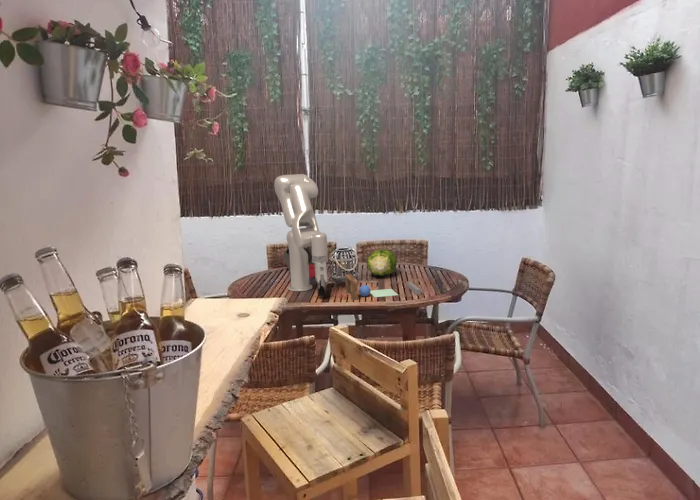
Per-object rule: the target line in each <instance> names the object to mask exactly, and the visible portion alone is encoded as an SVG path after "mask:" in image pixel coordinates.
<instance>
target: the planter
mask: <svg viewBox="0 0 700 500" xmlns="http://www.w3.org/2000/svg"><path fill="white" fill-rule="evenodd" d="M303 249H304V250H305V251H306V252H307V254H308V265H311V264H314V263H313V262H312V246H311V247H303ZM282 258H283V260H284V262H285V264H286V267H287V269H288V270H289V272H290V255H289V247H288V246H287V247H286V248H285V250H284V252H283V254H282Z"/></svg>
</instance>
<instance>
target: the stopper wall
mask: <svg viewBox="0 0 700 500" xmlns="http://www.w3.org/2000/svg"><path fill="white" fill-rule="evenodd" d="M406 287H407V288H408V289H410V291H411V292H413V293H415V294H416V296H418V295H419V296H420V295H422V290H421V288H419V286H417V285H416V284H414V283H413V282H412V281H406Z"/></svg>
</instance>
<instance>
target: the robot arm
mask: <svg viewBox="0 0 700 500" xmlns="http://www.w3.org/2000/svg"><path fill="white" fill-rule="evenodd" d="M273 188H274V191H275V195H276V196H277V198H278V200H279V202H280V205H281V210H282V213H283V217H284V222H285V224H286V226H287V227H289V228H291V229H290V230H289V231H288V232H287V234H286V241H287V242H286V243H287V247H289V255H290V271H289V272H290V285H288V290H289V291H291V292H305V291H310V290H312V289H313V284H310V278H309V267H308V254H307V252H306V251H305V250H304V249H303V247H305V248H307V247H311V246H312V262H313V263H312V264H314V266H315V277H314V278H315V281H316V283H317V295H318V296H317V297H325V296H326V291H325V289H326V288H325V283H328V269H327V263H328V261H329V260H328V259H329V256H328V236H327V234H326V233H325V232H321V231H320V229H319V226H318V222H317V218H316V215H315V211H313V206H312V204H311V203H312V202H311V201H310V199H314V198H315V199H316V197H318V195H319V188H318V185H317V184H316V182H315V181H314V180H313V179H312V178H310V177H309V176H308V175H306V174H304V173H299V174H297V173H294V174H283V175H278V176H276V178H275V180H274V187H273Z"/></svg>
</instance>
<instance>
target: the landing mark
mask: <svg viewBox="0 0 700 500" xmlns="http://www.w3.org/2000/svg"><path fill="white" fill-rule="evenodd" d="M370 294H371V296H373V298H383V297H393V296H399V294H398V293H397V292H395V291H394V290H393V288H386V289H385V288H383V289H375V290H373V289H372V290H371V289H370Z"/></svg>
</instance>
